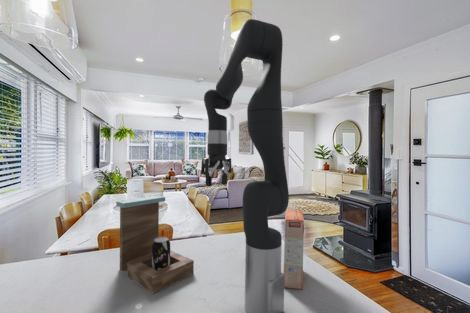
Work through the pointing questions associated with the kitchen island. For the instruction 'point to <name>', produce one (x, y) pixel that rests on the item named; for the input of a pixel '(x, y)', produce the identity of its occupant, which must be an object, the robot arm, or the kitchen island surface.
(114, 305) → the kitchen island surface
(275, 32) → the robot arm
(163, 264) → the beverage can
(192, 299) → the kitchen island surface
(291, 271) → the cracker box
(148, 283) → the socket block
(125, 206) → the grey-capped wooden panel
